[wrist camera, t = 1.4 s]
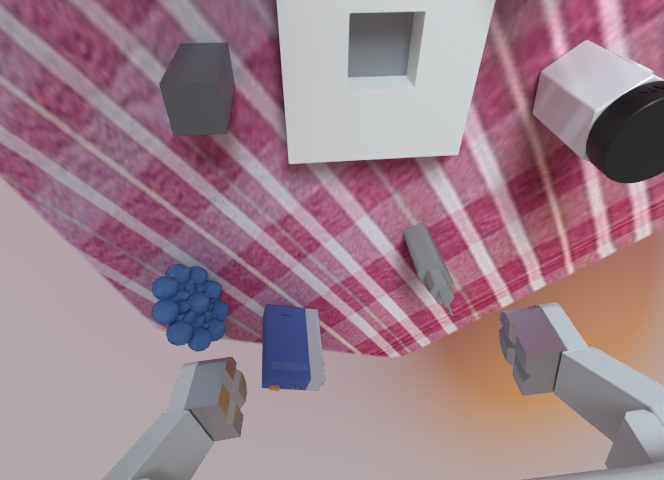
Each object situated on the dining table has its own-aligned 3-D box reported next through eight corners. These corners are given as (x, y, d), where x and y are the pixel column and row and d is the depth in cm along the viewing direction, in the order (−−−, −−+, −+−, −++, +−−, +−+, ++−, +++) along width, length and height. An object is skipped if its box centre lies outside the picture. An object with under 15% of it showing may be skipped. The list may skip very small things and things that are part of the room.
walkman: (263, 315, 61) (261, 390, 52) (266, 303, 59) (266, 379, 50) (313, 320, 63) (320, 393, 54) (318, 309, 61) (326, 382, 52)
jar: (635, 60, 40) (737, 113, 32) (576, 132, 45) (650, 194, 36) (569, 27, 38) (661, 75, 29) (514, 107, 42) (578, 169, 34)
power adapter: (417, 256, 56) (444, 328, 47) (401, 232, 52) (427, 304, 44) (437, 246, 55) (470, 317, 46) (423, 221, 52) (454, 292, 43)
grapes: (139, 257, 50) (111, 338, 42) (182, 234, 49) (161, 314, 40) (203, 305, 58) (191, 383, 49) (242, 286, 56) (236, 364, 47)
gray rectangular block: (180, 43, 35) (159, 83, 28) (227, 42, 35) (217, 81, 29) (191, 89, 38) (174, 136, 31) (235, 88, 38) (227, 133, 31)
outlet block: (268, -109, 29) (268, -108, 26) (497, -109, 30) (521, -107, 27) (287, 143, 42) (288, 164, 39) (445, 135, 44) (458, 154, 41)
